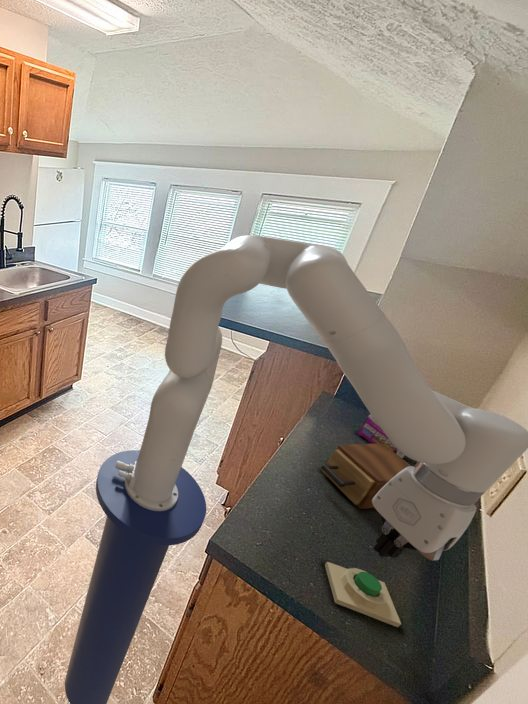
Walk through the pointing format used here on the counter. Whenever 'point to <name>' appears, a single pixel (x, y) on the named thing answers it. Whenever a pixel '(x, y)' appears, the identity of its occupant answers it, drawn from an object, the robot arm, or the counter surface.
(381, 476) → the cabinet
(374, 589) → the button
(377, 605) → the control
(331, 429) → the counter surface
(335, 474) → the drawer
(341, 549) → the counter surface
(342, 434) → the counter surface
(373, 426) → the candy bar box
